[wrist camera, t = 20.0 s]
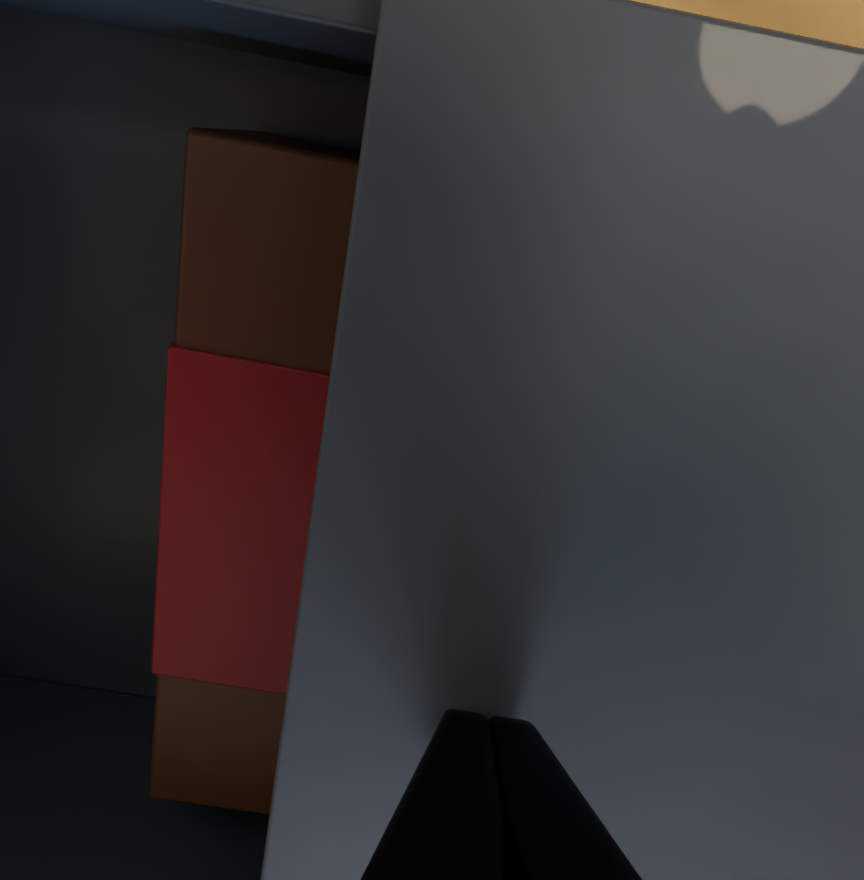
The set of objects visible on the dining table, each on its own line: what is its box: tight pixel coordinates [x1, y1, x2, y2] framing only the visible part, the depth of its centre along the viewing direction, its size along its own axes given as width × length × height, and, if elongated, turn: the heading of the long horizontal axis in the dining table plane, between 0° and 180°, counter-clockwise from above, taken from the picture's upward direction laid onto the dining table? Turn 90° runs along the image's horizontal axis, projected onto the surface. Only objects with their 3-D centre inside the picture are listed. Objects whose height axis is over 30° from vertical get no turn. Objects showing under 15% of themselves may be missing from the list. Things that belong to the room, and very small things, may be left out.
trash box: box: [0, 0, 381, 880], centre depth 11 cm, size 13×16×6 cm
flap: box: [260, 0, 864, 880], centre depth 8 cm, size 13×8×1 cm, turn 170°
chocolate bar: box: [150, 127, 360, 815], centre depth 12 cm, size 4×10×3 cm, turn 170°
